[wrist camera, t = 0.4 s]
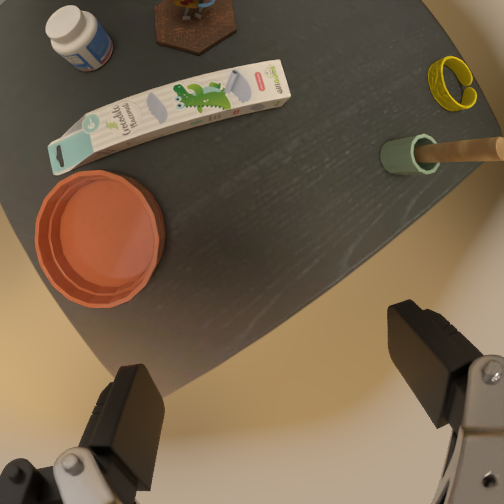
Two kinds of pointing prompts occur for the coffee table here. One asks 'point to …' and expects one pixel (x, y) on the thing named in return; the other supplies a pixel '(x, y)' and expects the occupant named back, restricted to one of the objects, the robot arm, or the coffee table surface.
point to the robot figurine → (193, 24)
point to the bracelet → (440, 89)
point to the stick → (461, 151)
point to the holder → (406, 156)
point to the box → (170, 111)
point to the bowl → (99, 237)
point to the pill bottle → (79, 38)
